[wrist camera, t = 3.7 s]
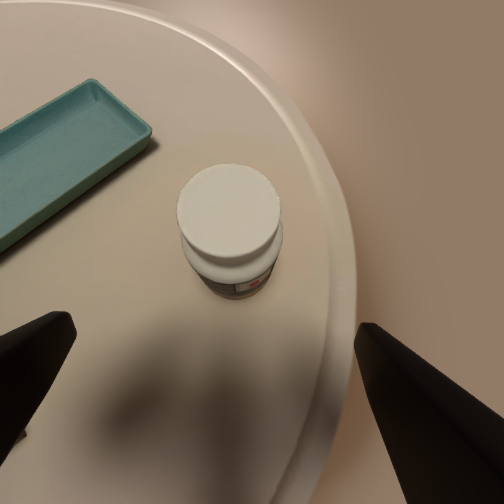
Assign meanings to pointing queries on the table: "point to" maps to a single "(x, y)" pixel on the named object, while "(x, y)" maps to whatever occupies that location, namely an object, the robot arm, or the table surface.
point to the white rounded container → (230, 228)
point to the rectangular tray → (62, 154)
